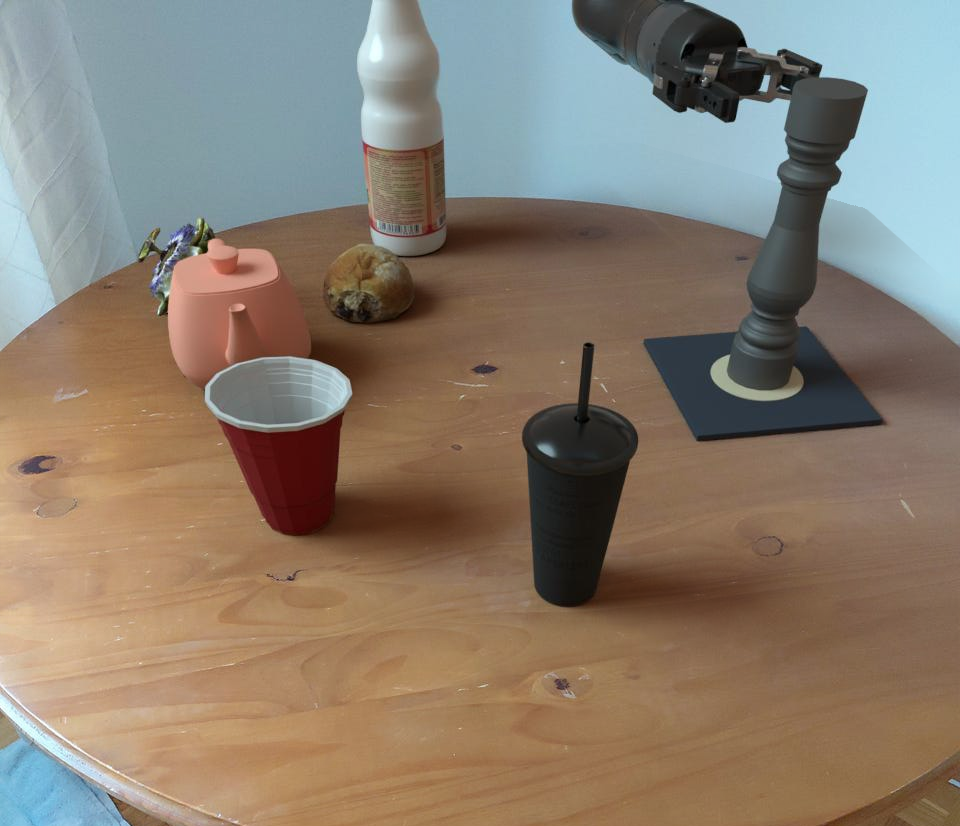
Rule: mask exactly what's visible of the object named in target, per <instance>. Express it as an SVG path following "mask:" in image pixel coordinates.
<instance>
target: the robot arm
mask: <svg viewBox="0 0 960 826" xmlns="http://www.w3.org/2000/svg"><path fill="white" fill-rule="evenodd" d="M571 15H572V19H573V22H574V24H575V26H576V28H577V29H578V30H579V31H580V32H581V33H582V34H583V35H584V36H585V37H586V38H588V39H589V40H590V41H591V42H593V43H594V44H595V45H596V46H597V47H599V48H600V49H601V50H602V51H604V52H605V53H606V54H607V55H608V56H609V57H611V58H612V59H613V60H614V61H616V62H617V63H619V64H621V65H624V66H630V67H631V68H632V69H634V70H635V71H636V72H637V73H639V74H641V75H642V76H644V77H645V78H647V79H648V81H650V83H651V84H652V85H653V86H652V92H651V93H652V96H654V97H655V98H657V99H658V101H661V102H662V103H663V104H664V105H666V106H667V107H668V108H669V109H671V110H673V112H676V113H678V114H682V113H685V112H687V111H688V109H690V110H693V111H695V112H696V113H697V112H698V113H700V114H704V113H709V114H710V115H712V116H713V117H715V118H716V119H718V120H719V121H721V122H723V123H724V124H728V123H734V122H736V120H737V115H738V109H739V105H740V101H743V100H745V99H746V100H749V101H750V100H751V101H755V102H761V103H766V104H770V103H772V102H774V101H775V100H776V99H779V100H785V101H790V100H791V96H792V91H793V87H794V84H795V82H797V81H799V80H802V79H806V78H813V77H821V72H822V70H823V67H824V66H823V65H824V64H821V63H819V62H818V61H815V60H813V59H810V58H808V57H806V56H803V55H801V54H798V53H796V52H794V51H791V50H790V49H787V48H781V49H778V50H777V51H776V54H775V55H774V54H769V53H763V52H758V51H757V50H756V48H752V47H748V44H747V40H746V38H745V35H744V33H743V31H742V29H741V28H740V27H739V25H737V23H735V21H733V20H731V19H729V18H727V17H724V16H722V15H720V14H718V13H716V12H715V11H712V10H710V9H708V8H706V7H704V6H702V5H700V4H698V3H695V2H690V1H686V0H571ZM765 76H769V81H768V85H767V89H766V91H763V90H760V89H761V88H762V84H763V81H764V79H765ZM782 87H783V88H782ZM784 88H785V89H784Z"/></svg>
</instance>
